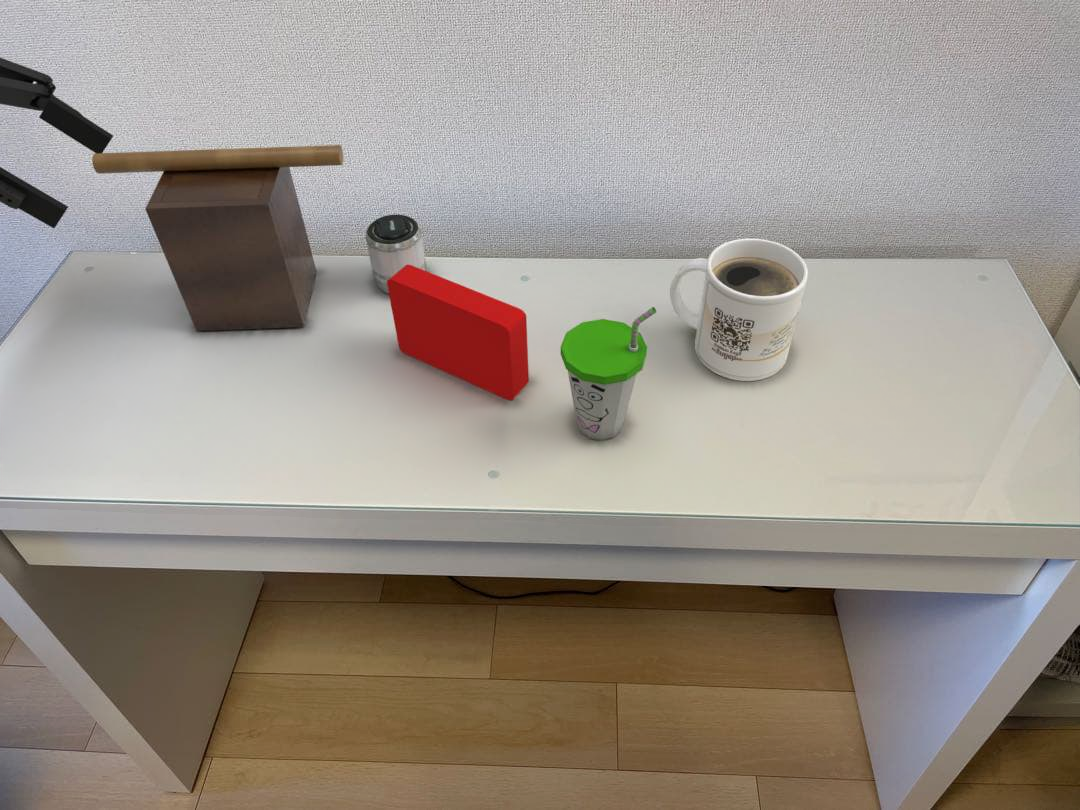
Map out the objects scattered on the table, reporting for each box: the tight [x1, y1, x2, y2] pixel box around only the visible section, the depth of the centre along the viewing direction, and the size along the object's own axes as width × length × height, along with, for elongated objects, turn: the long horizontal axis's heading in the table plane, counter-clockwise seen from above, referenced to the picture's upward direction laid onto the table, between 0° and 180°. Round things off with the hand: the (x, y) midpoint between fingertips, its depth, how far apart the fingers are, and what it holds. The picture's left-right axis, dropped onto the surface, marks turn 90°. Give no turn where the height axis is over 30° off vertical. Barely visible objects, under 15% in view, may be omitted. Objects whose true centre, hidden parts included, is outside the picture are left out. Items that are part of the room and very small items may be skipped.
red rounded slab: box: [387, 265, 530, 401], centre depth 87 cm, size 15×3×10 cm, turn 58°
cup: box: [560, 306, 657, 442], centre depth 79 cm, size 8×8×15 cm
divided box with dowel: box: [91, 144, 344, 332], centre depth 92 cm, size 18×25×10 cm
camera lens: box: [364, 214, 427, 295], centre depth 98 cm, size 6×6×8 cm
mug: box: [669, 237, 809, 382], centre depth 88 cm, size 10×12×11 cm
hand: (85, 180), depth 87 cm, fingers open, 13 cm apart
